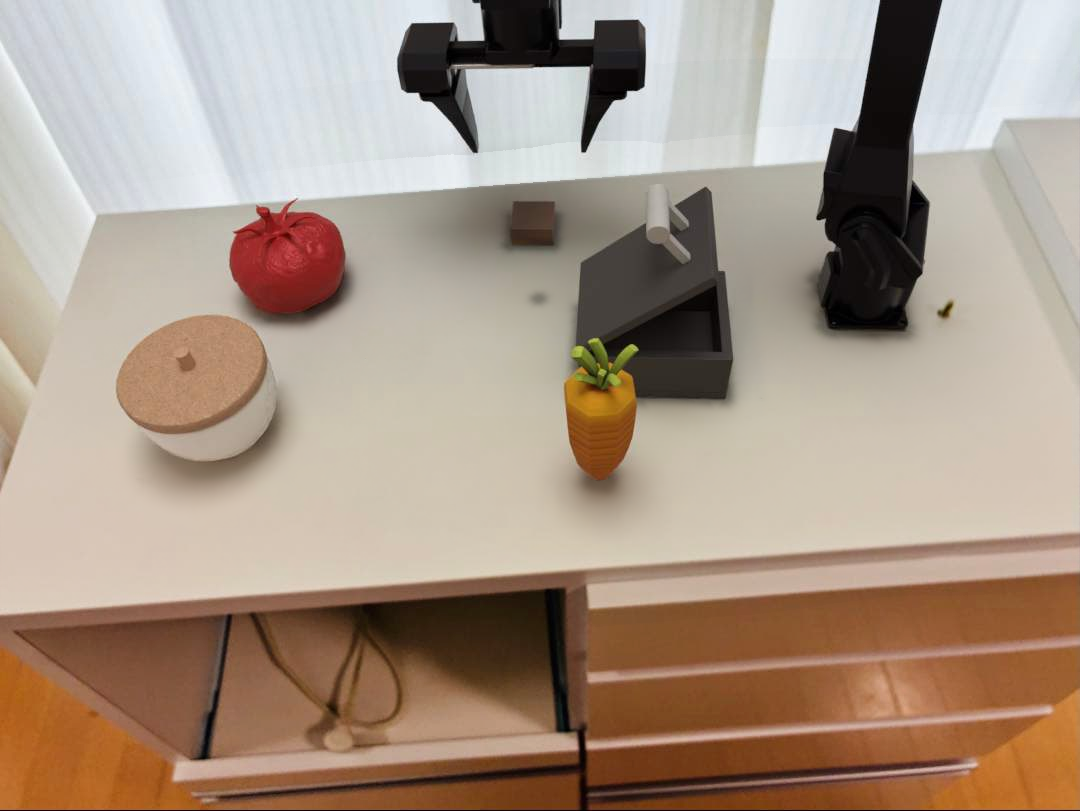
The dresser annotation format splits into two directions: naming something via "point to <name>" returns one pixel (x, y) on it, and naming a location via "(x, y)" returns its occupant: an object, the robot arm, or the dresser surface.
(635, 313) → the box lid
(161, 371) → the trinket box
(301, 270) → the red tomato
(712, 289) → the box
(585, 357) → the carrot
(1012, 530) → the dresser surface
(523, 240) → the walnut block
